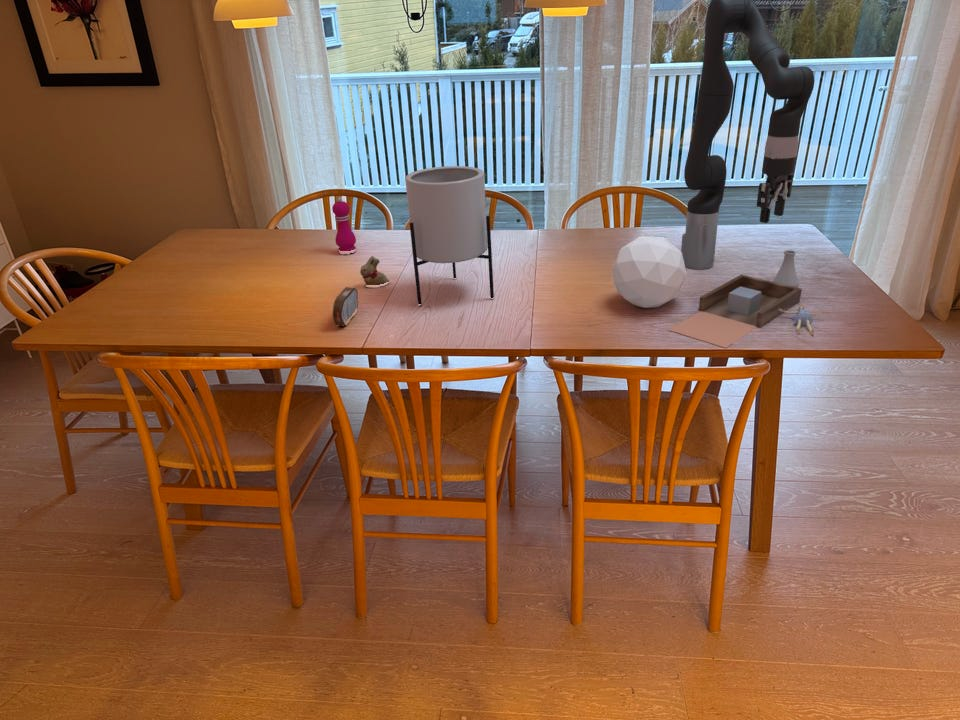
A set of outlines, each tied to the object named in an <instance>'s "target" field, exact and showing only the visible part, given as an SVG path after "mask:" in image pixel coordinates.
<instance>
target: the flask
mask: <svg viewBox="0 0 960 720" xmlns="http://www.w3.org/2000/svg"><path fill="white" fill-rule="evenodd" d="M796 253H797V251H796V250H791V249H786V250H785V249H784V251H783V254H784V257H783V261H782V263H781V266H780V268H779V270H778V272H777V273H776V275H775V277H774V279H773V280H772V282H775V283H780V284H784V285H788V286H793V287H797V288H799V285H800V284H799V280H798V277H797V276H798V275H797V271H796V267H795V256H796Z"/></svg>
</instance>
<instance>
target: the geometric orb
mask: <svg viewBox="0 0 960 720" xmlns="http://www.w3.org/2000/svg"><path fill="white" fill-rule="evenodd" d="M686 269H687V267H686V266H685V264H684V260H683V256H682V252H681V249H679V248H677V247H676V246H675V245H673V244H672V243H671V242H670V241H669V240H667V239H666V238H665V237H663V236H659V237H658V236H644V235H642V236H641V235H640V236H638V237H637V238H635V239H633V240H632V241H631V242H629V243H627V244H626V245H624V246H622V247H621V248H620V250H619V251H618V254H617V256H616V259H615V261H614V264H613V266H612V278H613V279H612V280H613V284H614V287H615V289H616V290H617V292H618V293H619V294H620V295H621V296H622V297H623V298H624V300H626V301H627V302H629V303H630V304H632V305H634V306H636V307H640V308H646V309H647V308H650V309H651V308H659V307H661V306H662V305H664V304H666V303H667V302H669V301H672V300H673V299H674V298H676V297H678V296H679V293H680V291H681V289H682V286H683V285H684V283H685V280H686V279H687V278H686V277H687V276H688V273H687V270H686Z"/></svg>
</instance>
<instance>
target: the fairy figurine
mask: <svg viewBox="0 0 960 720" xmlns="http://www.w3.org/2000/svg"><path fill="white" fill-rule="evenodd" d="M778 309H779V308H778ZM779 310H780V311H781V312H784V313H786V314H791V315H794V316H793V317H791V319H792V320H793V323H794V325H796V334H797V335H800V334H801V326H804V327H806V329H807V330H808V331H809V335H810V336H812V335H813V336H814V333H815V328H812V325H811V324H812V323H813V322H814V317H813V316H816V315H820V314H826V313H827V311H826V310H821V312H807V310H806V309H805V307H804V305H799V306H798V308H797V310H796V311H788V310H787V311H783V310H782V309H781V308H780V309H779Z"/></svg>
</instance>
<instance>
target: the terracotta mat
mask: <svg viewBox="0 0 960 720" xmlns="http://www.w3.org/2000/svg"><path fill="white" fill-rule="evenodd" d="M757 328H758V327H756V326H753V325H749V324H746V323H742V322H739V321H735V320H732V319H728V318H724V317H721V316H717V315H714V314H710V313H707V312H703V311H699V312H697V313H695V314H693V315H691V316H690V317H688V318H686V319H684V320H683V321H681V322H679V323H678V324H675V325H673V326H672V327H670V328H669V329H668V331H669V332H672V333H675V334H680V335H682V336H685V337H688V338H691V339H695V340H699V341H701V342H705V343H707V344H709V345H714V346H716V347H720V348H724V349H728V348H729V347H730V346H732V345H734V343H736V342H737V341H738V340H740V339H742V338H744V337H745V336H747V335H748V334H749V333H751V332H752V331H754V330H756V329H757Z"/></svg>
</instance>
